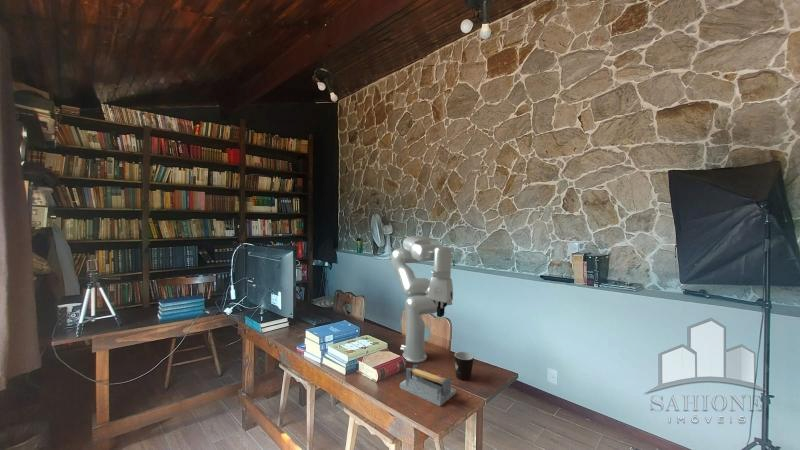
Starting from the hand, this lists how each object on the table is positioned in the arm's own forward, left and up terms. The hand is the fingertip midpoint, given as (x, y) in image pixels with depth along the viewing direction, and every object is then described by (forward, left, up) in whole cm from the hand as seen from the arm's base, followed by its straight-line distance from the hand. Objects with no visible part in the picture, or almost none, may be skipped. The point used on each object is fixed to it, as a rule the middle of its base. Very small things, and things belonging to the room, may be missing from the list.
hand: (440, 316), depth 146 cm
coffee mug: (+6, +12, -29) cm, 32 cm away
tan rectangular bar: (+1, -10, -24) cm, 26 cm away
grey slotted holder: (+1, -10, -29) cm, 31 cm away
